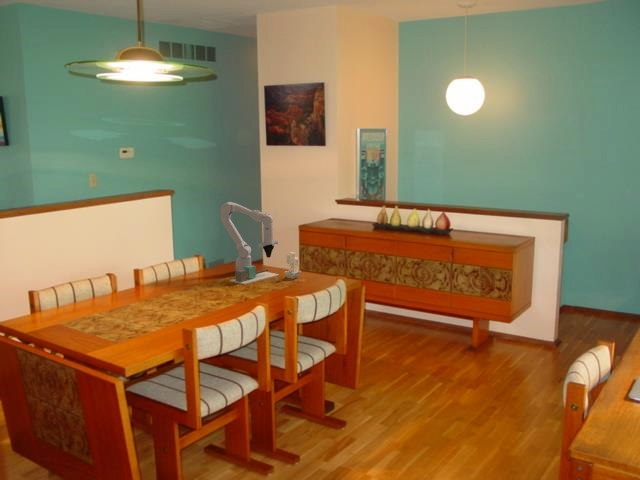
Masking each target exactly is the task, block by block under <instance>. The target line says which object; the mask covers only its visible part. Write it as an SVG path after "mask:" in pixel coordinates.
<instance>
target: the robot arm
mask: <svg viewBox="0 0 640 480" xmlns="http://www.w3.org/2000/svg"><path fill="white" fill-rule="evenodd" d="M236 212H239V213H241V214H245V215H247V216H249V217H250V218H251V219H252V220H254V221H256V222H259V223H262V225H263V227H262V233H263V234H262V235H263V237H262V238H263V241H262V242H260V243H258V244H257V245H258V248H262V249H263V250H264V253H265V256H266V258H268V259H269V258H271V256H272V252H273V249H274V247H275V245H278V244H279V241H278V240H274V236H273V235H274V232H273V230H274V227H273V222H274V217H273V216H272V215H271V214H267V213H266V212H262V211H260V210H259V209H254V210H252V209H249V208H247V207H245V206H243V205H241V204H238V203H236V202H233V201H227V202H225V203H222V204H221V206H220V209H219V213H220V221H221V223H222V224H223V226H224V228H225V230H226V231H227V233H228V234H229V236H230V237H231V239H232V241H233V242H234V244H235V247H236V250H237V253H238V254H237V255H238V257H237V258H236V259H235V270H239V269H242V270H244V266H249V265H252V256H251V254H252V248H251V246H250V245H249V244H247V242H245V241H244V239H243V238H242V236H241V234H240V232H239V231H238V229H237V228H236V226H235V224H234V223H233V222H232V220H231V217H232V214H233V213H236Z"/></svg>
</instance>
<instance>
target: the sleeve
mask: <svg viewBox="0 0 640 480" xmlns="http://www.w3.org/2000/svg"><path fill="white" fill-rule="evenodd" d="M256 268H257V266H256V265H252V264H251V265H249V266H244V270H246V273H248V278H249V279H250V278H254V277H256V272H257V270H256Z"/></svg>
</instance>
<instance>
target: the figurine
mask: <svg viewBox="0 0 640 480" xmlns="http://www.w3.org/2000/svg"><path fill="white" fill-rule="evenodd" d="M286 263H287V264H288V265H289V268H290V269H289V270H286V271H284V275H285V276H286V278H288V279H292V280H293V279H296V278H299V276H300V274H301V273H302V270H298V269H296V267H299V257H296V252H293V251H291V252H289V254H286Z"/></svg>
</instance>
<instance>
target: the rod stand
mask: <svg viewBox="0 0 640 480" xmlns="http://www.w3.org/2000/svg"><path fill="white" fill-rule="evenodd" d="M234 273H235V275H234V278H233V279H230V280H229V281H230V283H235V284H240V285H243V286H244V285H245V286H246V285H249V284H253V283H257V282H261V281H265V280H269V279H272V278H276V277H279V276H280V274H278V273H274V272H269V269H268V268H267V269H262V270H258V271H256V277H254V278H250V279H249V278H248V273H246V270H242V269H239V270H236V269H235V270H234Z"/></svg>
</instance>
